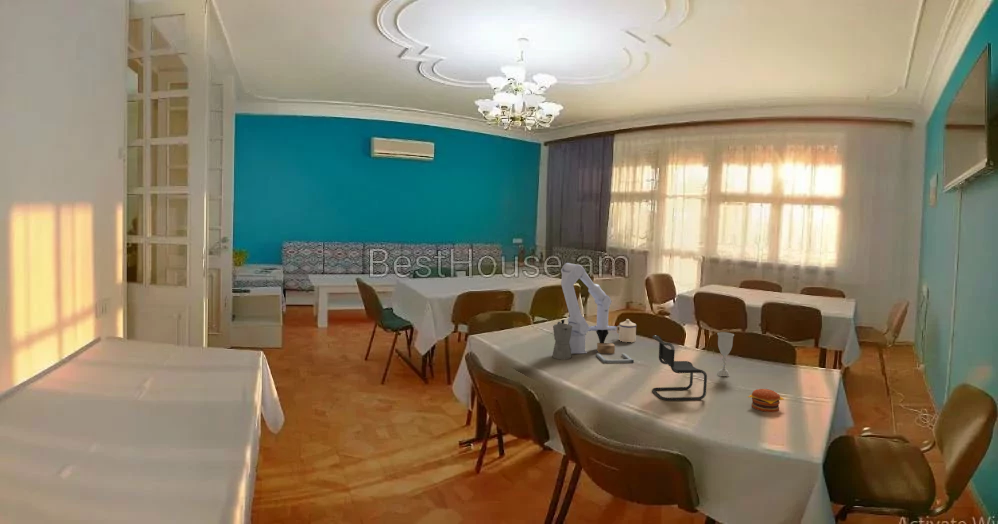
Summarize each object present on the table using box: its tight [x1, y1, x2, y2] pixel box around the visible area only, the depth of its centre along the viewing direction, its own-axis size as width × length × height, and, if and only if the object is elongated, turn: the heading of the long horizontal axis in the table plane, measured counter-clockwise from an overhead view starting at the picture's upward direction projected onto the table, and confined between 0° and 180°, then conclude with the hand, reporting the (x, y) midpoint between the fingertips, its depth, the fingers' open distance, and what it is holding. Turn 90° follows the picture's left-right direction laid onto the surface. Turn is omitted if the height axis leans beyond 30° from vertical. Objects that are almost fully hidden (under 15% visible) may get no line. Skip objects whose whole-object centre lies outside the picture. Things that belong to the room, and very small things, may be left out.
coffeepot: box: [552, 319, 572, 360], centre depth 272 cm, size 15×9×18 cm, turn 8°
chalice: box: [717, 331, 735, 377], centre depth 245 cm, size 7×7×18 cm
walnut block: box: [596, 342, 616, 354], centre depth 282 cm, size 8×5×4 cm, turn 87°
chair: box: [651, 335, 708, 402], centre depth 218 cm, size 13×17×22 cm
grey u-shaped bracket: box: [595, 352, 635, 364], centre depth 269 cm, size 14×12×1 cm
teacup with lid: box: [616, 318, 637, 343], centre depth 307 cm, size 12×9×12 cm
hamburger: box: [747, 388, 785, 413], centre depth 206 cm, size 9×10×7 cm
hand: (601, 344), depth 289 cm, fingers closed
